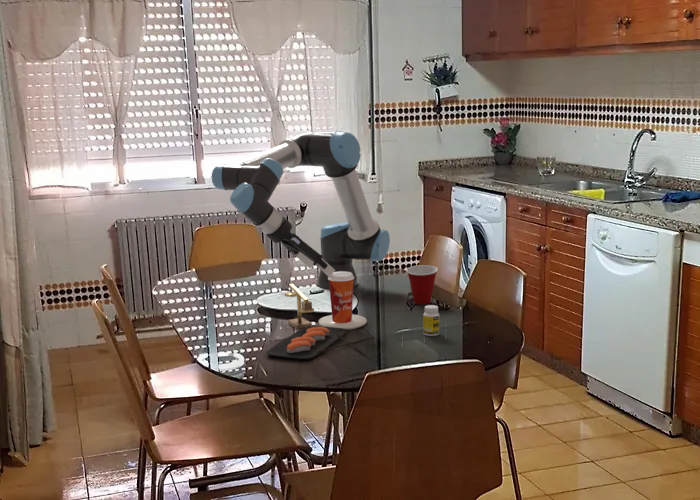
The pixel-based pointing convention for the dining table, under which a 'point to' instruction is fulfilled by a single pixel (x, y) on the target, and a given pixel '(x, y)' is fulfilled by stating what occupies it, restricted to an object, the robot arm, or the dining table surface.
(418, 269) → the plastic cup
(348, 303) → the coffee cup
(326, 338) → the sushi plate
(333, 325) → the white round disc
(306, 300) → the balance
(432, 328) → the supplement bottle
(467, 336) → the dining table surface
